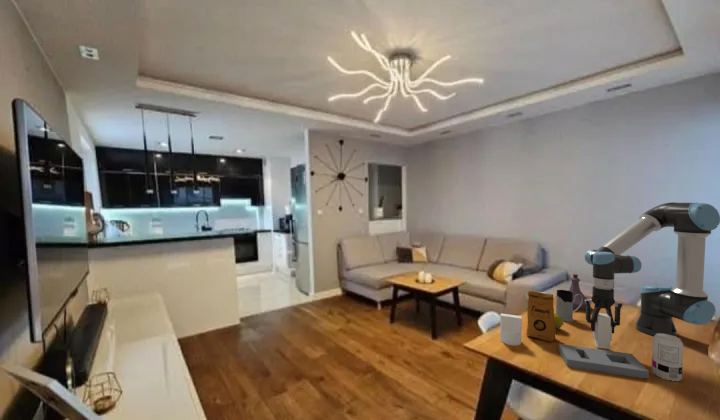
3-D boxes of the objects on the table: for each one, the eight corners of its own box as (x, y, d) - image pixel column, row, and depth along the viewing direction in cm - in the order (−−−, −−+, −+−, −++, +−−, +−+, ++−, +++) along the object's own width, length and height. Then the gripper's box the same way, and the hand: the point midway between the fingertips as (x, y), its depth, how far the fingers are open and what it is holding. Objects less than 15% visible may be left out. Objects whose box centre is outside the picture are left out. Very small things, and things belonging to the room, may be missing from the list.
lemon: (566, 329, 161) (566, 314, 161) (559, 333, 157) (560, 317, 156) (543, 322, 170) (543, 308, 170) (536, 326, 165) (537, 311, 165)
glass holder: (551, 315, 181) (552, 289, 180) (577, 315, 180) (577, 289, 179) (560, 321, 172) (561, 294, 171) (587, 321, 171) (588, 294, 171)
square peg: (606, 344, 142) (606, 313, 142) (610, 349, 138) (610, 317, 137) (594, 342, 144) (594, 312, 143) (597, 347, 140) (598, 316, 139)
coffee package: (553, 345, 145) (554, 297, 144) (524, 337, 153) (524, 292, 152) (557, 337, 153) (558, 292, 152) (529, 330, 161) (529, 287, 160)
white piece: (520, 338, 151) (521, 314, 151) (521, 347, 143) (522, 320, 143) (500, 335, 155) (500, 311, 155) (499, 343, 147) (500, 317, 146)
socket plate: (631, 360, 131) (631, 353, 131) (648, 379, 118) (649, 371, 117) (558, 350, 140) (558, 343, 140) (567, 366, 127) (567, 359, 127)
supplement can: (645, 370, 123) (647, 333, 123) (665, 369, 124) (666, 332, 123) (667, 383, 115) (669, 342, 115) (688, 381, 116) (690, 341, 115)
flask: (566, 311, 187) (567, 277, 186) (554, 301, 203) (554, 271, 202) (597, 312, 184) (598, 278, 184) (582, 303, 201) (583, 272, 200)
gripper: (582, 287, 139) (581, 339, 140) (631, 291, 133) (630, 345, 134) (577, 283, 146) (576, 332, 147) (623, 286, 140) (622, 338, 141)
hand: (602, 339), depth 141 cm, fingers closed on square peg, 4 cm apart
